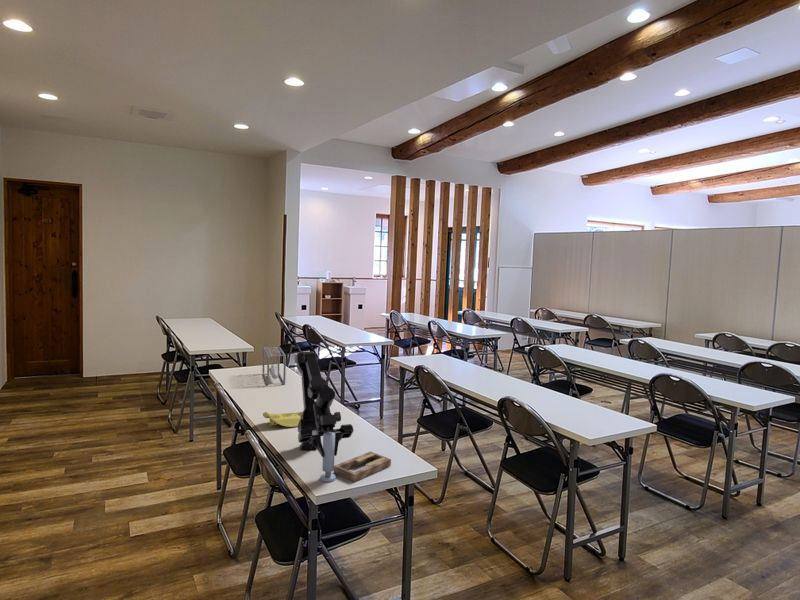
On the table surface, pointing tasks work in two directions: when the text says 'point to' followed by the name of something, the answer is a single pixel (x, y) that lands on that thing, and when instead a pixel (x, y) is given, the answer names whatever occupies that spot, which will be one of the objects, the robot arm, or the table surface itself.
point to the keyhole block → (372, 467)
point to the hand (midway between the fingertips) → (329, 456)
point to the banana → (284, 419)
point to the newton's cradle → (272, 369)
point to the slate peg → (328, 457)
